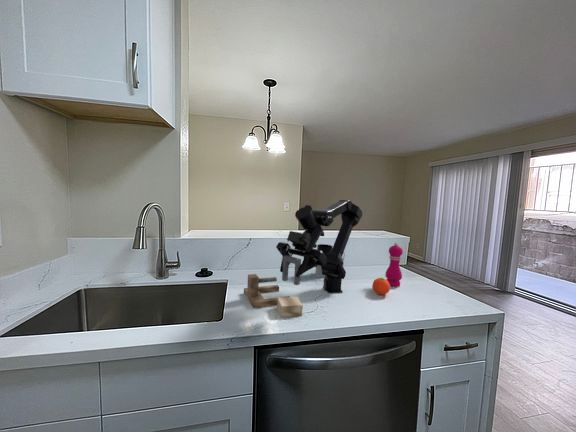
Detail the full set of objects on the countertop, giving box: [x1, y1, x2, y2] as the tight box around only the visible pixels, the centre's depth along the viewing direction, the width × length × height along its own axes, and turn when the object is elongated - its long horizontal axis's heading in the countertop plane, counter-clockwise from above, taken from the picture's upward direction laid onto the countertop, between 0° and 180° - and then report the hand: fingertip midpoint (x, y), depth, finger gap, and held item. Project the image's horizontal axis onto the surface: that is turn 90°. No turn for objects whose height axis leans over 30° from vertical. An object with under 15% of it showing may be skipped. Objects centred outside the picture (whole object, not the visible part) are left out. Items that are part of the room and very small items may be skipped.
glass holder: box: [313, 243, 346, 279], centre depth 128 cm, size 9×14×15 cm, turn 79°
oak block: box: [276, 296, 304, 318], centre depth 87 cm, size 7×7×4 cm
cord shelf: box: [243, 273, 291, 309], centre depth 97 cm, size 14×14×9 cm
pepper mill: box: [384, 241, 404, 288], centre depth 119 cm, size 7×7×20 cm
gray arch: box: [281, 255, 302, 286], centre depth 86 cm, size 2×6×8 cm, turn 50°
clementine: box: [371, 277, 391, 296], centre depth 107 cm, size 8×7×7 cm
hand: (288, 273), depth 85 cm, fingers closed on gray arch, 6 cm apart
